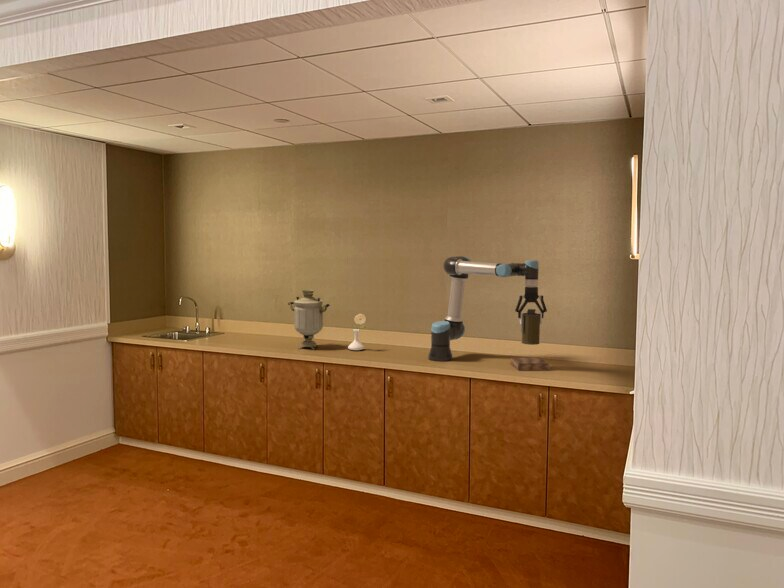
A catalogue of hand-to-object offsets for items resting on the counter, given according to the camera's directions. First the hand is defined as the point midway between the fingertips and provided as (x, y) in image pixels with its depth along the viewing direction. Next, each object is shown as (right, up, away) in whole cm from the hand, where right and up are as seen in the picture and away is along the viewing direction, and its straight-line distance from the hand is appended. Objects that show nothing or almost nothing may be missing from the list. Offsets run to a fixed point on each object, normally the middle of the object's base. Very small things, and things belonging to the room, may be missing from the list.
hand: (530, 323), depth 354 cm
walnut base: (0, -26, +2) cm, 26 cm away
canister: (0, -12, +1) cm, 12 cm away
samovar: (-137, -20, +65) cm, 153 cm away
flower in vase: (-105, -21, +56) cm, 121 cm away
